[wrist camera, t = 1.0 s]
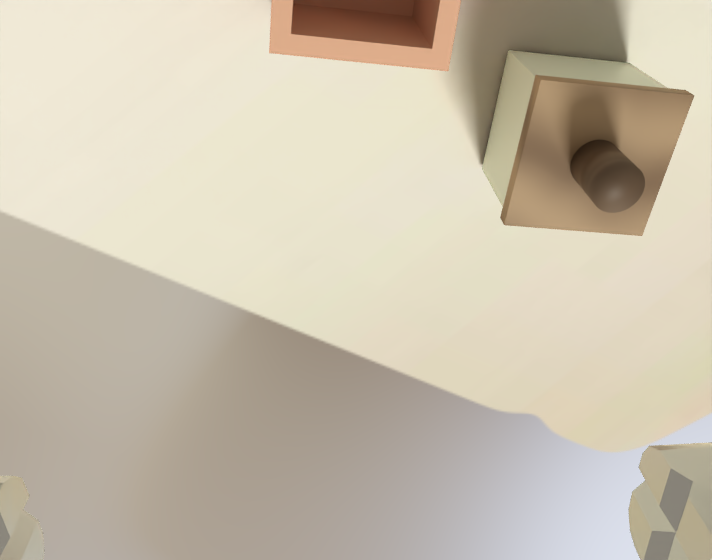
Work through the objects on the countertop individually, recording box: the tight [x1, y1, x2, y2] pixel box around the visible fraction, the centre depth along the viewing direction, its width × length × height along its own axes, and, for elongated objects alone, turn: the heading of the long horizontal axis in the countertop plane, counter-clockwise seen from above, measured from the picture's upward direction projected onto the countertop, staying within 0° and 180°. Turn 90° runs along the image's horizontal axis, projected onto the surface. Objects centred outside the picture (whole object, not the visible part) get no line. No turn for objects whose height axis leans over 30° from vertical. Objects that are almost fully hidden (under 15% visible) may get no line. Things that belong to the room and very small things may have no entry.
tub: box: [482, 50, 667, 206], centre depth 43 cm, size 8×8×7 cm
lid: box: [500, 75, 694, 236], centre depth 38 cm, size 9×9×4 cm
